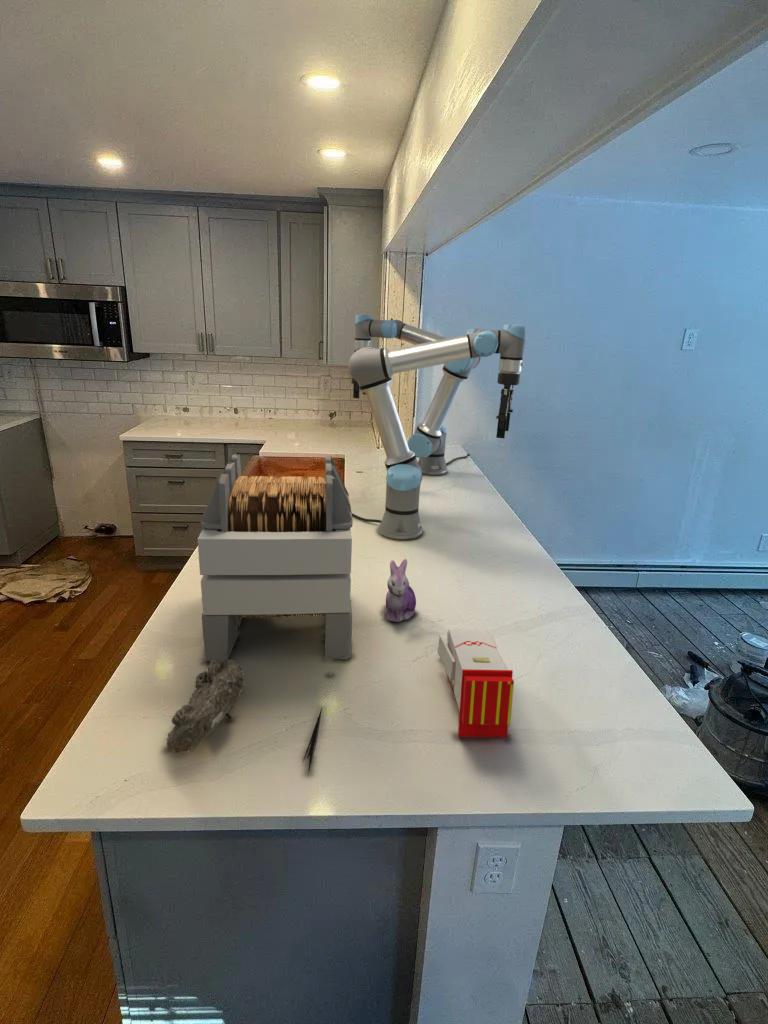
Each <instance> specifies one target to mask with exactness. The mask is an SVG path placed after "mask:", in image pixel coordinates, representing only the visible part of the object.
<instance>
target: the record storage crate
mask: <svg viewBox="0 0 768 1024" xmlns="http://www.w3.org/2000/svg"><path fill="white" fill-rule="evenodd" d="M324 457H325V458H324V459H325V461H324V462H325V463H324V464H325V465H324V468H325V469H324V476H318V477H316V476H307V477H303V476H288V475H287V476H280V477H279V476H274V475H270V476H268V475H259V476H258V475H255V476H254V475H250V476H247V475H242V466H241V456H240V454H231V457H230V459H229V462H227V463H226V466H225V467H224V470H223V472H222V474H220V476H219V478H218V480H217V482H216V484H215V487H214V488H213V491H212V493H211V496H210V498H209V500H208V502H207V505H206V507H205V509H204V511H203V513H202V516H201V518H200V527H201V532H200V533H199V535H198V537H197V550H198V565H199V576H202V577H201V579H200V590H201V591H200V592H201V606H202V607H201V608H202V613H201V626H202V627H201V629H202V640H203V646H204V658H203V660H204V662H208V663H210V662H211V661H212V660H217V661H222V662H223V661H224V660H227V659H228V660H229V658H230V655H231V653H232V650H233V648H234V645H235V643H236V640H237V638H238V628H240V625H241V621H242V619H243V618H282V617H283V618H289V617H290V618H293V617H297V618H298V617H314V616H315V617H320V616H321V617H324V653H325V654H324V655H325V660H338V659H339V660H348V659H350V658H352V644H353V643H352V641H353V639H352V638H353V610H352V600H351V588H352V587H351V586H352V582H351V581H352V577H351V574H352V553H353V552H352V548H353V547H352V546H353V537H352V530H351V528H352V527H353V523H354V520H353V516H352V506H351V501H350V500H351V499H350V494H349V491H348V489H347V487H346V485H345V483H344V481H343V478H342V477H341V474H340V472H339V470H338V468H337V466H336V463H335V461H334V460H333V457H332V455H328V454H327V455H326V454H325V456H324Z"/></svg>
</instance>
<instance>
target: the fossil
mask: <svg viewBox="0 0 768 1024" xmlns="http://www.w3.org/2000/svg"><path fill="white" fill-rule="evenodd" d="M243 670H244V669H243V667H242V665H240V664H237V662H236V661H235V660H234V659H232V658H231V659H229V658H228V659H227V660H224V661H217V660H212V661H211V662H209V665H208V666H207V671H201V672H199V673H198V674H197V675H196V676H195V680H194V684H195V685H194V687H195V689H194V690H193V693H192V694H191V697H190V698H189V700H188V704H184V705H182V706H181V707H180V709H177V710H176V711H175V713H174V715H173V716H172V718H171V723H172V724H173V727H172V730H171V731H170V732H168V734H167V738H166V741H167V742H166V745H167V749H168V750H169V751H173V752H174V753H176V754H178V753H182V752H188V751H189V752H192V751H193V750H195V748H196V747H197V746H199V744H200V743H201V742H203V741H204V740H205V739H206V738H207V737H208V736H209V735H210V734H211V733H212V732H214V730H215V729H217V727H218V726H219V724H220V722H221V721H222V720H223V719H224V718H225V716H226V717H227V719H229V720H233V717H232V715H230V714H229V710H230V709H231V708H234V706H235V704H236V703H237V702H238V699H239V697H240V695H241V693H242V691H243V690H245V689H244V688H245V675H244V671H243Z"/></svg>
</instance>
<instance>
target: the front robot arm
mask: <svg viewBox="0 0 768 1024" xmlns="http://www.w3.org/2000/svg"><path fill="white" fill-rule="evenodd" d="M526 331H527V329H526V326H525V325H523V324H511V323H510V324H508V323H506V324H503V327H502V329H482V328H469V329H468V330H467V331H466V334H462V335H458V336H452V337H446V338H447V339H442V340H437V341H432V342H427V343H422V344H417V345H414V344H411V345H407V346H403V347H398V348H393V349H388V348H387V347H381V348H380V347H377V346H374V345H371V346H366V347H363V348H361V349H359V350H357V351H356V352H355V353H354V352H353V353H352V355H351V356H350V357H349V361H348V372H349V374H350V376H351V378H352V377H353V378H354V379H355V380H356V381H357V382H358V384H359V387H360V388H359V391H360V392H362V393H363V392H364V393H366V397H367V401H368V405H369V407H370V411H371V413H372V416H373V419H374V423H375V426H376V428H377V431H378V435H379V437H380V441H381V443H382V447H383V450H384V452H385V456H386V458H385V461H384V462H383V463H384V466H385V470H386V475H385V481H386V485H385V487H386V488H385V504H384V505H385V507H384V508H385V509H384V513H383V515H382V519H375V518H364V517H361V516H359V515H357V514H355V513H352V518H354V519H357V520H359V521H362V522H368V523H377V524H378V523H379V526H378V533H379V534H380V535H381V536H382V537H385V538H387V539H389V540H395V541H410V540H415V539H418V538H420V537H421V536H422V535H423V524H422V521H421V518H420V515H419V507H420V506H419V505H420V491H421V483H422V480H423V474H422V469H421V467H420V465H419V464H418V458H417V457H416V456H415V453H414V452H412V451H410V450H409V447H408V440H407V437H406V434H405V433H404V429H403V425H402V422H401V419H400V416H399V414H398V410H397V406H396V403H395V399H394V397H393V393H392V390H391V384H392V381H393V379H392V377H393V376H394V375H395V374H400V373H404V372H410V371H415V370H421V369H424V368H425V369H426V368H431V367H435V366H439V365H444V364H445V363H450V362H455V361H460V360H465V359H471V358H476V357H481V358H482V357H483V358H487V357H490V356H492V355H493V354H496V355H497V354H499V362H498V363H499V364H498V371H499V372H498V373H497V381H496V382H497V384H499V385H503V388H502V389H501V391H500V403H499V407H498V415H496V417H495V419H496V420H497V428H496V436H495V438H496V439H505V438H506V437H505V436H506V432H509V429H510V421H511V413H513V412H514V409H513V407H512V405H513V398H514V393H515V391H514V390H515V389H514V386H520V384H521V378H522V377H521V376H522V375H521V372H522V367H523V366H525V364H524V362H523V359H524V351H525V344H526V334H527V333H526Z"/></svg>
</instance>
